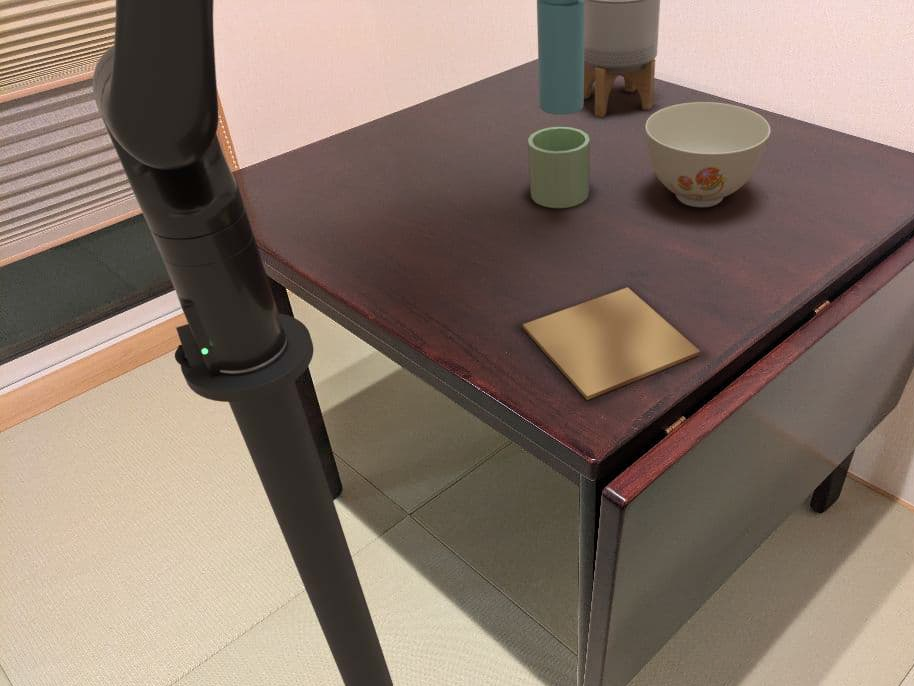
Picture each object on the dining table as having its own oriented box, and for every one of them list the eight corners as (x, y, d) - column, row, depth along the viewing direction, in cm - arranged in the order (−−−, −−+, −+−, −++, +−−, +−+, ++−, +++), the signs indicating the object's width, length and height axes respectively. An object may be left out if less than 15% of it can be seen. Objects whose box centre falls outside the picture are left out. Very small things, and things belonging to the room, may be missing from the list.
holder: (548, 214, 107) (546, 158, 102) (520, 189, 113) (517, 135, 107) (600, 198, 110) (600, 143, 105) (570, 175, 115) (569, 121, 110)
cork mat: (587, 400, 79) (587, 396, 79) (522, 328, 89) (522, 324, 88) (699, 355, 84) (700, 350, 84) (627, 291, 93) (627, 286, 93)
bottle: (553, 118, 94) (551, -47, 82) (531, 103, 98) (526, -58, 86) (591, 108, 96) (595, -55, 84) (569, 94, 99) (569, -64, 88)
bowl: (621, 208, 108) (624, 137, 101) (671, 161, 118) (676, 93, 111) (732, 237, 101) (743, 163, 94) (775, 185, 111) (788, 115, 104)
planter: (564, 110, 133) (562, -5, 121) (598, 83, 141) (600, -27, 129) (634, 123, 128) (640, 5, 116) (666, 95, 136) (674, -19, 124)
